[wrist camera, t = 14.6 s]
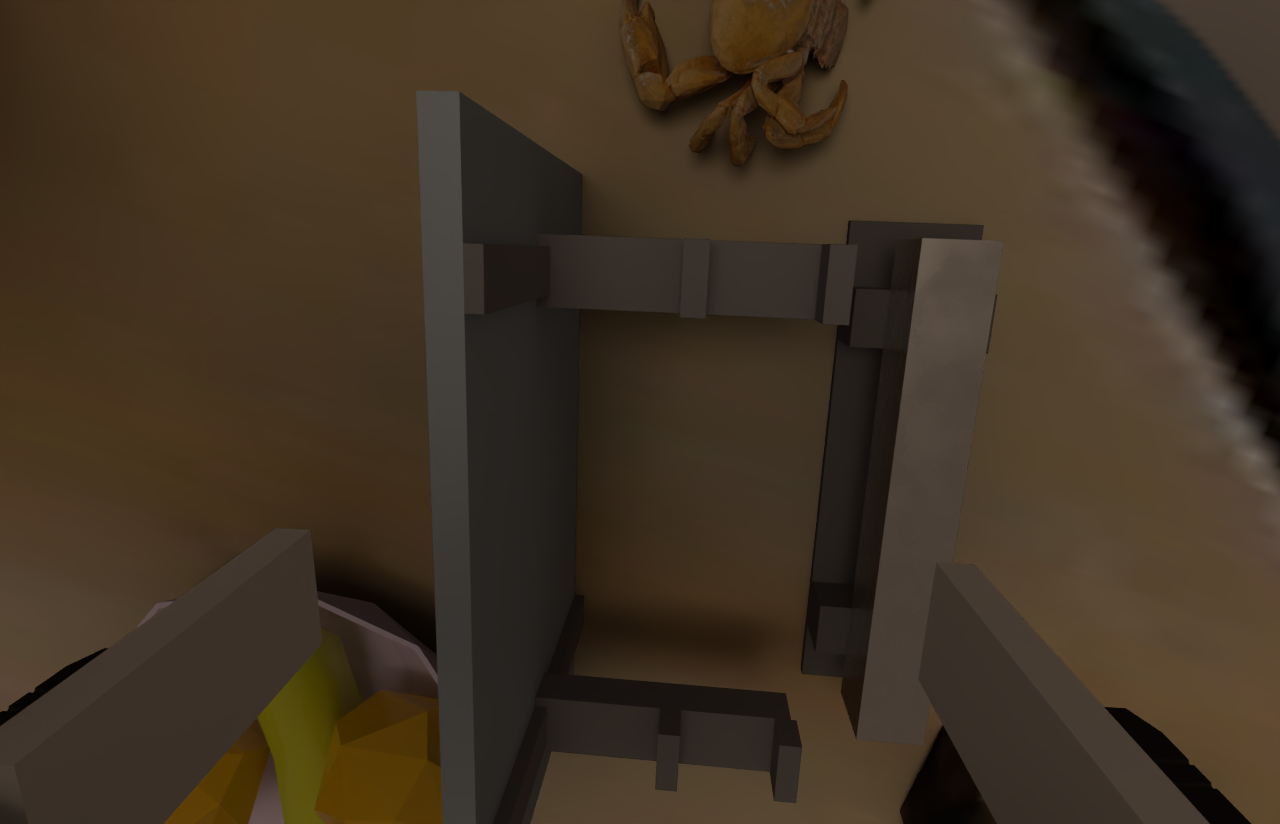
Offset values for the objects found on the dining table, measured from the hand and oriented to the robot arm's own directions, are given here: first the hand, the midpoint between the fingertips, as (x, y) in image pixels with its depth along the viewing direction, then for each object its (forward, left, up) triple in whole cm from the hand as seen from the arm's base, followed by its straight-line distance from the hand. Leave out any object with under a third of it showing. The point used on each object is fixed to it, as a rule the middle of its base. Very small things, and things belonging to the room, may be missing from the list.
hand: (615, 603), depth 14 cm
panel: (0, -5, -27) cm, 27 cm away
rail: (+13, -5, -23) cm, 27 cm away
